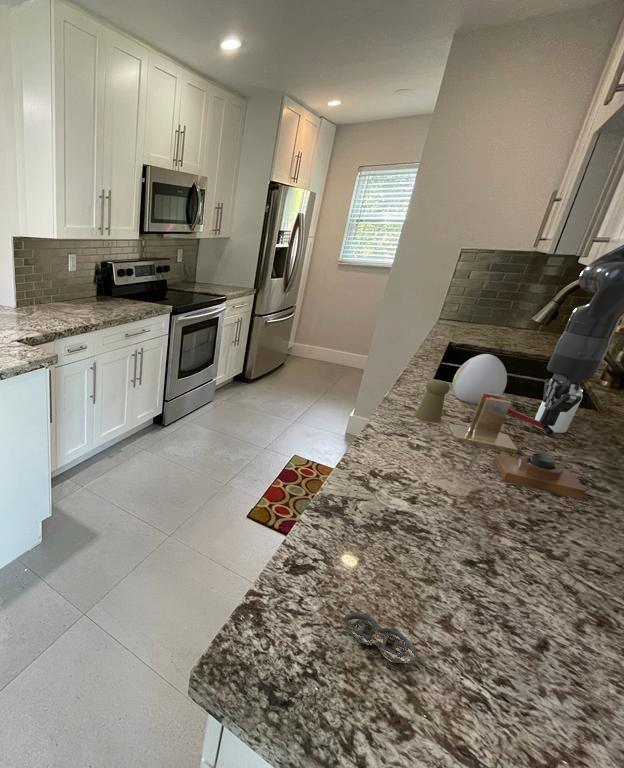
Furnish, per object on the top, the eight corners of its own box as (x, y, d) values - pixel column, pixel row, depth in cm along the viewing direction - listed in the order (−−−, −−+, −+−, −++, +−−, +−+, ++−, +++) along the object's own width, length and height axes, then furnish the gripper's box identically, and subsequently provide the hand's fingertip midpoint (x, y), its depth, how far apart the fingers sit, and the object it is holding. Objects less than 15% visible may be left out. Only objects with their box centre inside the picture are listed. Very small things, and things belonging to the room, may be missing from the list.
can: (564, 436, 107) (584, 393, 102) (530, 427, 111) (548, 386, 107) (567, 429, 111) (586, 388, 106) (534, 420, 115) (551, 381, 111)
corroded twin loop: (348, 610, 56) (350, 604, 56) (418, 648, 51) (421, 643, 51) (337, 635, 53) (339, 629, 52) (412, 679, 48) (414, 673, 47)
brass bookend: (505, 438, 105) (523, 396, 101) (516, 454, 98) (535, 409, 93) (447, 427, 110) (462, 386, 106) (453, 440, 103) (469, 397, 99)
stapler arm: (540, 427, 100) (548, 419, 98) (548, 437, 95) (557, 429, 94) (481, 400, 104) (488, 393, 103) (486, 409, 99) (494, 401, 98)
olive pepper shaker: (439, 416, 117) (451, 380, 113) (442, 424, 112) (455, 386, 108) (413, 411, 120) (425, 376, 116) (415, 418, 115) (427, 382, 111)
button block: (564, 478, 88) (571, 462, 87) (581, 500, 81) (590, 483, 80) (492, 462, 94) (498, 446, 92) (502, 481, 87) (509, 465, 85)
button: (548, 463, 87) (552, 456, 86) (555, 471, 84) (558, 464, 83) (526, 458, 88) (529, 451, 88) (531, 466, 85) (535, 459, 85)
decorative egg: (473, 392, 135) (489, 348, 130) (509, 408, 124) (528, 360, 118) (438, 392, 134) (453, 348, 129) (471, 408, 123) (489, 360, 117)
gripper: (617, 364, 83) (580, 439, 89) (588, 349, 94) (557, 417, 100) (566, 358, 87) (534, 431, 93) (544, 344, 97) (517, 410, 104)
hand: (546, 424), depth 97 cm, fingers closed
